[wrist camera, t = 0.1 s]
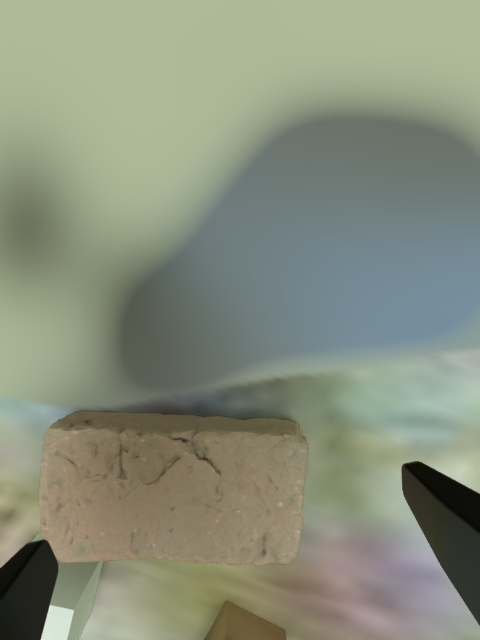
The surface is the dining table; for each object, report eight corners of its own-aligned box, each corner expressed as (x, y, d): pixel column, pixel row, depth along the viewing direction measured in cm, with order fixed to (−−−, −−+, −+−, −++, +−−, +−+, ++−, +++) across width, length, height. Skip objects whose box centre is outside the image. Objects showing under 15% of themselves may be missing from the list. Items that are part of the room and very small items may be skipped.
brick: (299, 414, 24) (316, 440, 19) (292, 524, 24) (307, 576, 20) (75, 403, 24) (36, 427, 19) (70, 515, 24) (31, 566, 19)
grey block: (91, 610, 24) (55, 690, 19) (24, 596, 24) (-31, 674, 19) (107, 546, 24) (74, 610, 19) (39, 532, 24) (-13, 592, 19)
